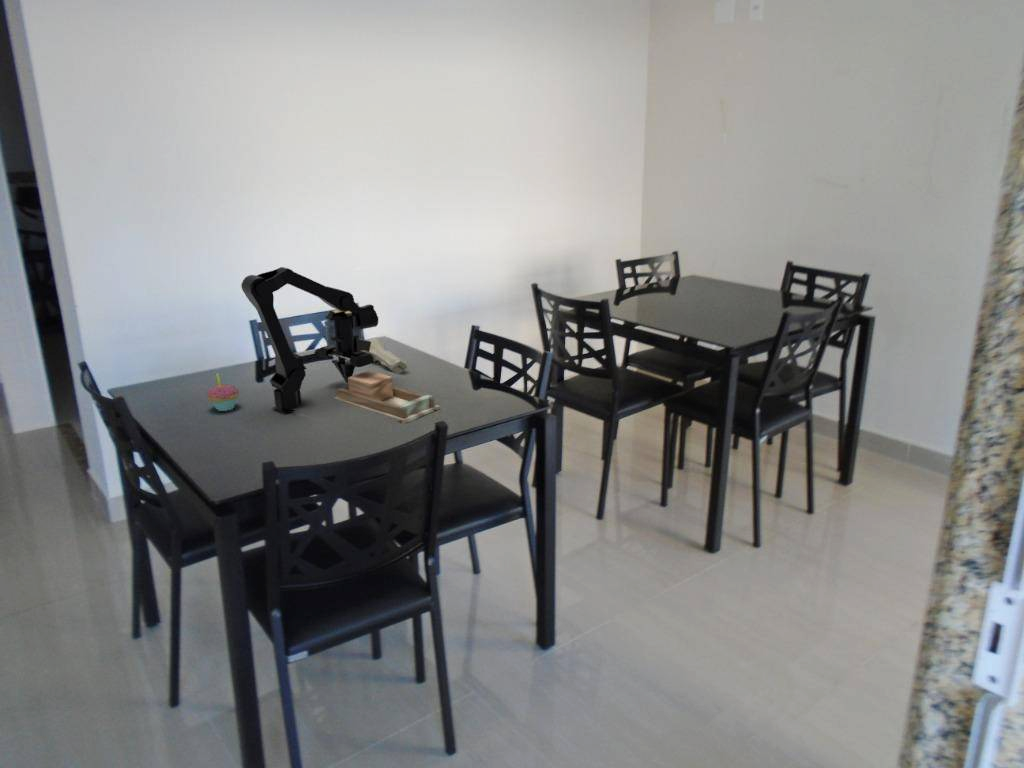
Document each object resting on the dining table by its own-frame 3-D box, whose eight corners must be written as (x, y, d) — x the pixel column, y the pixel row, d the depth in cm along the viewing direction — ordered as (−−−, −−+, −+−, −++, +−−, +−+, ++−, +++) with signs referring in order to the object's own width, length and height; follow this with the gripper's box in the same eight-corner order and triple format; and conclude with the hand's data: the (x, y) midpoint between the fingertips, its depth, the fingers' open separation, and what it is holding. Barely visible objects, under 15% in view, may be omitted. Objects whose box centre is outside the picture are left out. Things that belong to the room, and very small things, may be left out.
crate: (372, 404, 212) (370, 384, 210) (349, 396, 218) (347, 377, 216) (393, 396, 218) (392, 376, 216) (370, 389, 224) (369, 370, 222)
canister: (366, 357, 261) (362, 307, 255) (328, 360, 257) (323, 310, 251) (362, 347, 272) (358, 300, 267) (326, 350, 269) (321, 302, 263)
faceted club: (383, 353, 262) (417, 374, 243) (362, 364, 258) (395, 385, 239) (375, 331, 257) (410, 350, 238) (354, 341, 253) (387, 362, 235)
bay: (403, 424, 200) (402, 410, 199) (333, 401, 218) (332, 388, 217) (439, 409, 211) (439, 396, 209) (369, 388, 229) (368, 376, 227)
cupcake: (235, 413, 210) (230, 373, 206) (205, 414, 209) (198, 374, 205) (244, 403, 218) (238, 364, 214) (214, 404, 217) (208, 365, 213)
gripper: (386, 331, 218) (389, 381, 223) (344, 322, 229) (349, 370, 235) (356, 339, 210) (361, 391, 215) (315, 330, 221) (320, 379, 226)
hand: (348, 382), depth 223 cm, fingers closed
